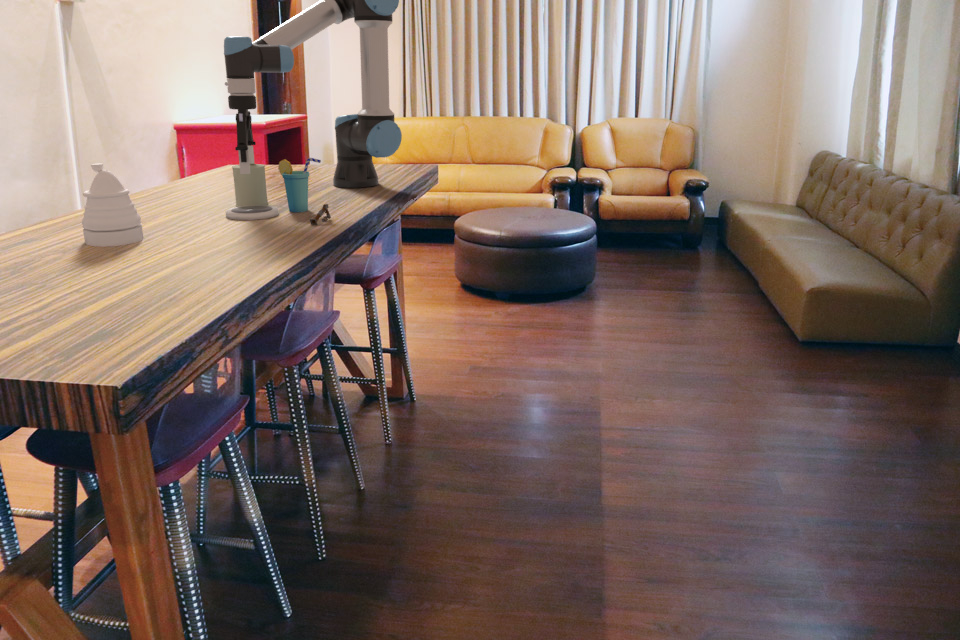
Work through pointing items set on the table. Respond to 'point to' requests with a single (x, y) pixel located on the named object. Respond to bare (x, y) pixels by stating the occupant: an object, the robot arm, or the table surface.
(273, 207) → the white and grey plate
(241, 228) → the table surface
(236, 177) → the can
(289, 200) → the cup
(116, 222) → the honey pot
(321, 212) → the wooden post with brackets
